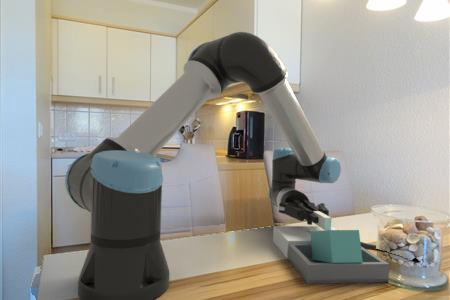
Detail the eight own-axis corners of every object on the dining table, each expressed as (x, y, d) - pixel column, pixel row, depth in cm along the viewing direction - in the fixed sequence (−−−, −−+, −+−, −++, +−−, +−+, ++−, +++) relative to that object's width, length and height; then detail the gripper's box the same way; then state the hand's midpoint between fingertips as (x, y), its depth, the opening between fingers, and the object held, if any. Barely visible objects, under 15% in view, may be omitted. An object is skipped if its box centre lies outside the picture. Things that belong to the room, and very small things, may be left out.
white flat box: (287, 258, 71) (287, 240, 71) (273, 241, 83) (273, 226, 83) (354, 257, 73) (355, 240, 73) (331, 241, 85) (332, 226, 85)
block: (312, 259, 70) (332, 262, 60) (310, 231, 71) (329, 230, 62) (338, 259, 70) (362, 262, 61) (335, 231, 72) (358, 230, 62)
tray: (307, 283, 59) (308, 265, 59) (287, 259, 71) (288, 243, 71) (388, 282, 61) (389, 263, 61) (355, 258, 73) (356, 243, 73)
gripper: (313, 215, 94) (355, 240, 70) (270, 215, 92) (298, 241, 69) (314, 190, 94) (356, 207, 70) (271, 189, 92) (299, 206, 69)
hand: (327, 223), depth 69 cm, fingers closed
